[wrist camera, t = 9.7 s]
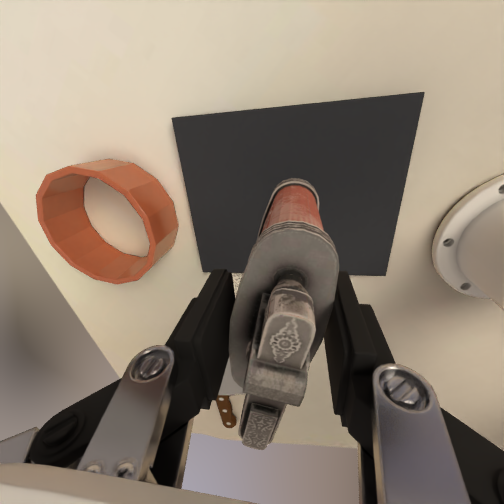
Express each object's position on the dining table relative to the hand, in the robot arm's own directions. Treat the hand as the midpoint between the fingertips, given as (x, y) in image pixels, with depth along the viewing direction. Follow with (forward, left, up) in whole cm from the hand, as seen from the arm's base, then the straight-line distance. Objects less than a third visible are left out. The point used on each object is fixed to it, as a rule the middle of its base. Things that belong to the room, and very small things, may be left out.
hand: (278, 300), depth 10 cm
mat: (0, 0, -15) cm, 15 cm away
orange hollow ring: (+18, +1, -15) cm, 24 cm away
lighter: (0, 0, -6) cm, 6 cm away
